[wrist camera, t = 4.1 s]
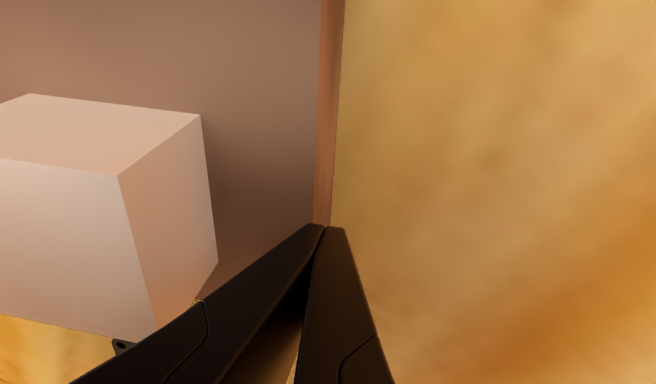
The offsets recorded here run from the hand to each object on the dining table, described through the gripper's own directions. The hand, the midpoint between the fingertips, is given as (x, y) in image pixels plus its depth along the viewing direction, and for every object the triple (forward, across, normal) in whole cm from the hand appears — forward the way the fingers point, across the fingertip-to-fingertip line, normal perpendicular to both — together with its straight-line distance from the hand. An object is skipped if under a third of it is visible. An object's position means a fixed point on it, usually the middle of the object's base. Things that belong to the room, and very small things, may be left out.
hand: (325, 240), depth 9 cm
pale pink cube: (+1, +6, 0) cm, 6 cm away
